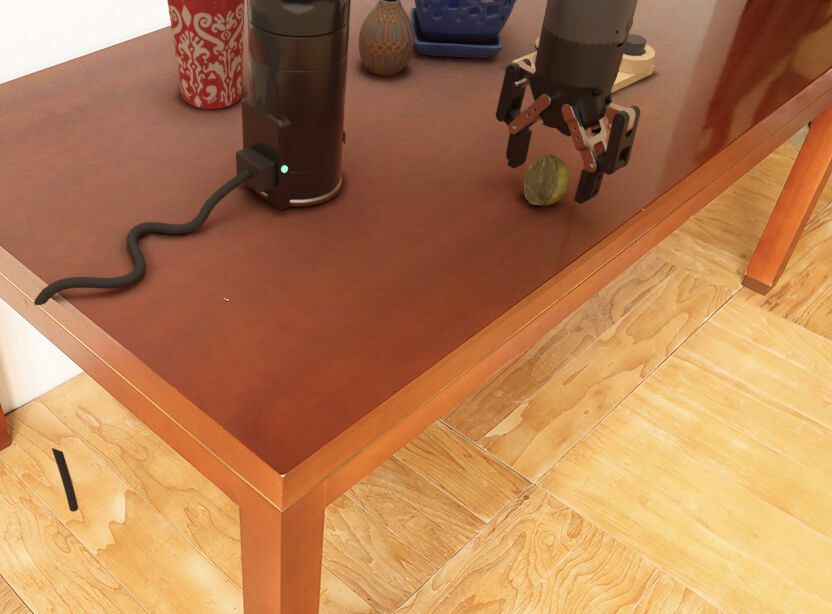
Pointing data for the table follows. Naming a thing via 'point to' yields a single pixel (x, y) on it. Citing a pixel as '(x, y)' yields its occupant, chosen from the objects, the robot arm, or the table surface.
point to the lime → (546, 180)
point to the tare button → (635, 45)
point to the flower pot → (459, 27)
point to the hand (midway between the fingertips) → (548, 182)
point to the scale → (622, 67)
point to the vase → (386, 38)
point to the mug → (209, 50)
